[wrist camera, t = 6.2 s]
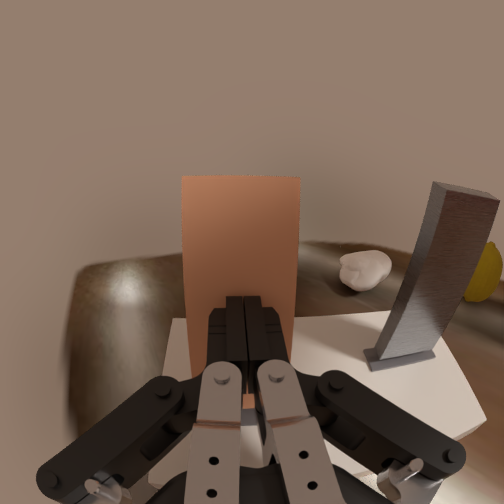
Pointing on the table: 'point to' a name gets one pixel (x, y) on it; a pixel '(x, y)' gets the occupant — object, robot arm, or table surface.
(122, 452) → the robot arm
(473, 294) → the lemon
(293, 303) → the terracotta paddle
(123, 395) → the table surface
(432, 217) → the grey paddle
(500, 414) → the table surface
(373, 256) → the dumpling
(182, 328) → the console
